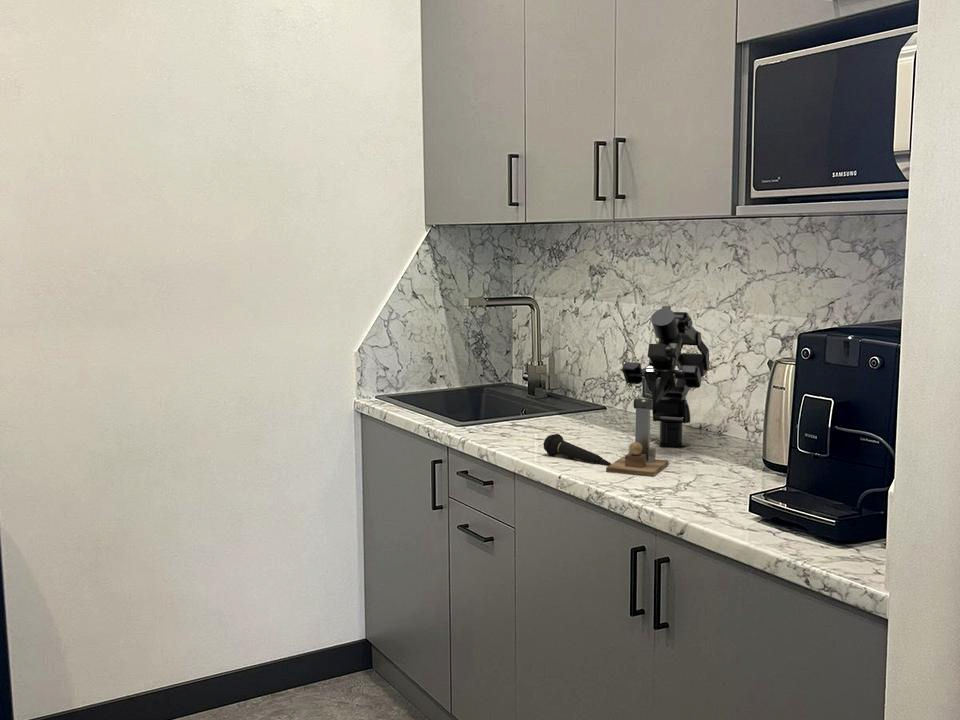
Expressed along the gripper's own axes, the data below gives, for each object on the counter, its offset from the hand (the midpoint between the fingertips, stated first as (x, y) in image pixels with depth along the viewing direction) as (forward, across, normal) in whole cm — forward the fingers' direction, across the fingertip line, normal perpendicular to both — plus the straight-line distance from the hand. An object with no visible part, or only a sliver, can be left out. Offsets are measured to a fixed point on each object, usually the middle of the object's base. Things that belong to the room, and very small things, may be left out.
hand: (654, 402), depth 235 cm
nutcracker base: (+19, 0, 0) cm, 19 cm away
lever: (+15, 0, +2) cm, 15 cm away
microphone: (+18, -16, +2) cm, 24 cm away
